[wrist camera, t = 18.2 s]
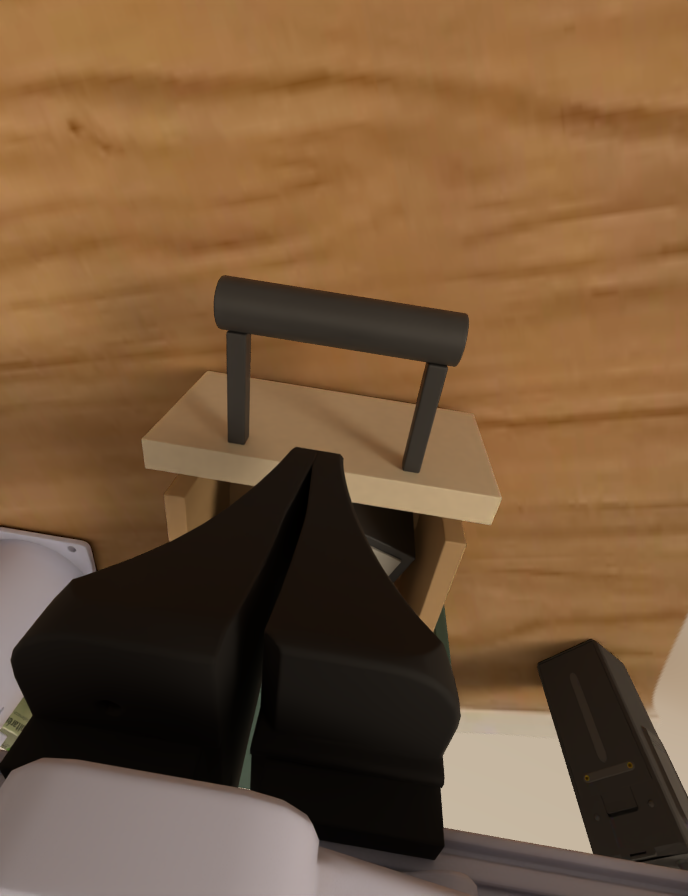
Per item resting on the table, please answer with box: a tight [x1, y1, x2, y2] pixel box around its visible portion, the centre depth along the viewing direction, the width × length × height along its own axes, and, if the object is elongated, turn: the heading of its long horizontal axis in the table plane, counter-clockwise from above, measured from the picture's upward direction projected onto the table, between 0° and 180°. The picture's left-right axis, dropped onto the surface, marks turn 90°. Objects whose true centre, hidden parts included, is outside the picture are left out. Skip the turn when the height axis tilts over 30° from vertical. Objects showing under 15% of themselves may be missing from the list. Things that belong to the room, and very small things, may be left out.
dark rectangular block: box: [352, 502, 416, 583], centre depth 20 cm, size 4×7×4 cm, turn 62°
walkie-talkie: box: [537, 639, 688, 871], centre depth 20 cm, size 5×3×20 cm
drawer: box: [142, 275, 502, 632], centre depth 19 cm, size 19×12×6 cm, turn 172°
